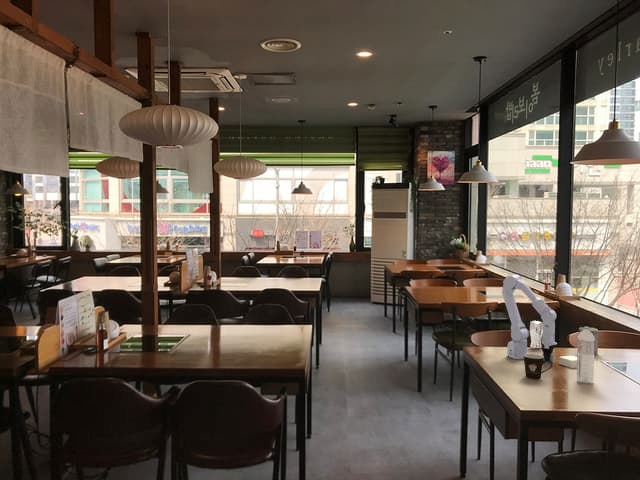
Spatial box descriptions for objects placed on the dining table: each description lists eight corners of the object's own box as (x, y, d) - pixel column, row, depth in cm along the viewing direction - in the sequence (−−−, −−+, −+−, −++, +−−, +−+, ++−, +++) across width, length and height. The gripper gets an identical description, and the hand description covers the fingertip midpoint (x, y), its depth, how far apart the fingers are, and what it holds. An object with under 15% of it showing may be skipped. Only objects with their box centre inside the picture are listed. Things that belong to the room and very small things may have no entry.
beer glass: (541, 346, 304) (542, 321, 304) (542, 349, 298) (543, 323, 297) (529, 345, 306) (529, 320, 306) (529, 348, 300) (530, 322, 299)
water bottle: (592, 385, 230) (594, 329, 229) (575, 382, 233) (577, 327, 233) (594, 381, 235) (595, 326, 235) (577, 379, 239) (578, 325, 238)
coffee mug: (519, 376, 241) (519, 355, 241) (529, 373, 247) (530, 353, 246) (543, 383, 232) (543, 360, 232) (553, 379, 237) (553, 358, 237)
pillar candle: (578, 350, 296) (578, 324, 296) (597, 352, 292) (598, 325, 291) (578, 354, 288) (578, 327, 287) (598, 356, 283) (598, 328, 283)
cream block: (571, 368, 258) (571, 360, 258) (559, 364, 266) (559, 356, 266) (583, 367, 261) (584, 359, 261) (571, 363, 268) (571, 355, 268)
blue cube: (552, 364, 265) (552, 354, 265) (542, 363, 268) (542, 353, 267) (553, 362, 269) (554, 352, 269) (543, 360, 272) (543, 351, 272)
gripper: (555, 336, 260) (554, 363, 260) (558, 332, 272) (558, 357, 273) (540, 335, 263) (539, 361, 264) (544, 330, 276) (543, 355, 276)
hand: (548, 359), depth 268 cm, fingers open, 7 cm apart
